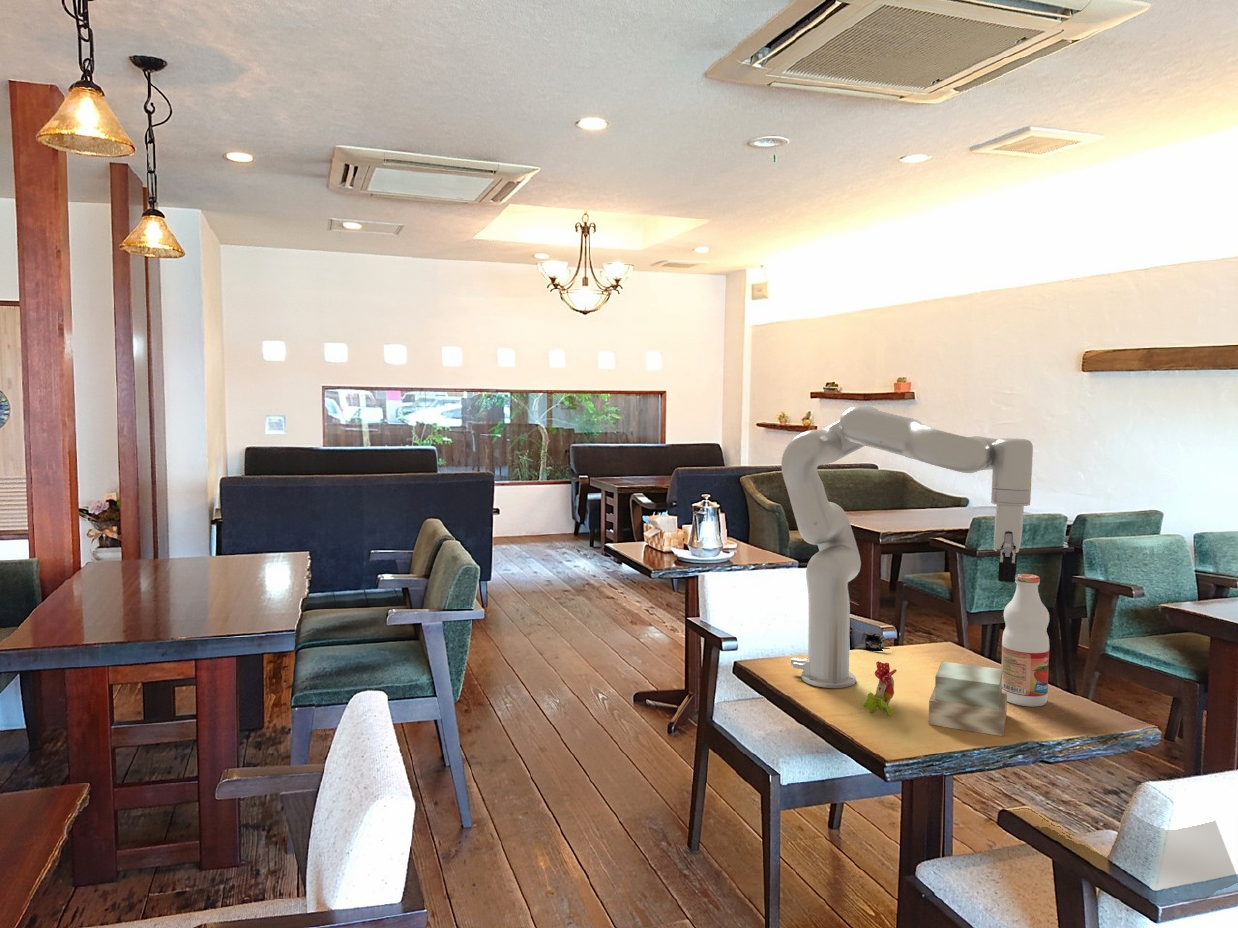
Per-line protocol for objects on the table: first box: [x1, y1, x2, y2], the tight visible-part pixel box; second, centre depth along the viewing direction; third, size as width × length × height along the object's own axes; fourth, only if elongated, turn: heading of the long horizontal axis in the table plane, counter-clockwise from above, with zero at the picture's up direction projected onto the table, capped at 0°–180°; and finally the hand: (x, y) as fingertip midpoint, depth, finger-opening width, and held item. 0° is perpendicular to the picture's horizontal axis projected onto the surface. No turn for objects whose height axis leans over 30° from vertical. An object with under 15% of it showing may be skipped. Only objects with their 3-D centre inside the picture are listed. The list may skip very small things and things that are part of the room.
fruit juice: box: [1000, 573, 1050, 708], centre depth 186 cm, size 9×9×28 cm
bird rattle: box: [861, 661, 897, 717], centre depth 180 cm, size 6×11×9 cm
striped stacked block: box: [928, 661, 1008, 737], centre depth 175 cm, size 14×13×10 cm
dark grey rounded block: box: [854, 631, 891, 652], centre depth 226 cm, size 12×7×5 cm, turn 56°
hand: (1007, 577), depth 178 cm, fingers open, 9 cm apart
